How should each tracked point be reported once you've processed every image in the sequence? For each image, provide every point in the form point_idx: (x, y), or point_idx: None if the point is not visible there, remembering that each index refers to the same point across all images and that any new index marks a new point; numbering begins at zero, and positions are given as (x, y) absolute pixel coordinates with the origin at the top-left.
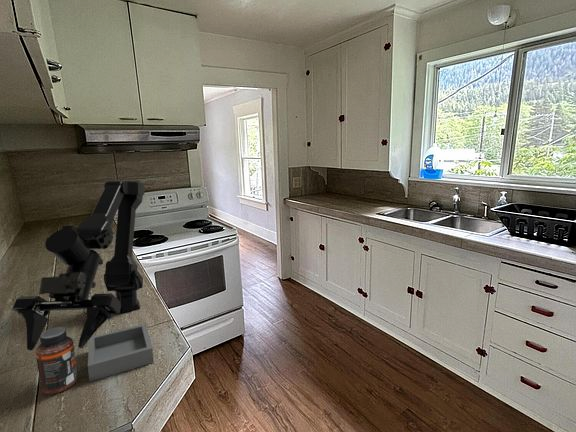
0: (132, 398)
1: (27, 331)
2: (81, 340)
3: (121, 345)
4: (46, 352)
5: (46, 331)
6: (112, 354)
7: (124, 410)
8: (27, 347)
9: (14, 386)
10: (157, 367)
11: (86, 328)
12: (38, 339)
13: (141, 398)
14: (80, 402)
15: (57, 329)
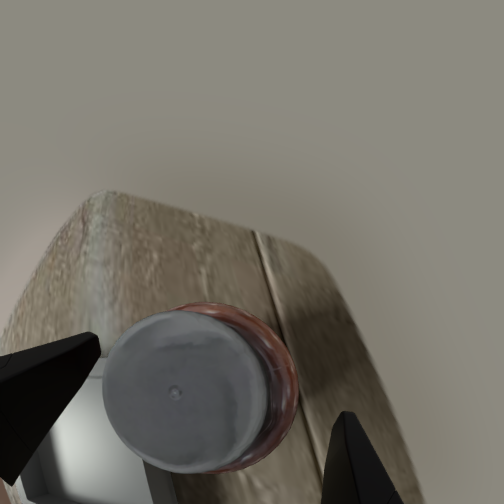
0: (72, 251)
1: (391, 488)
2: (70, 341)
3: (89, 488)
4: (219, 305)
5: (234, 436)
6: (103, 456)
7: (89, 223)
8: (355, 417)
9: (371, 417)
10: (23, 339)
11: (18, 357)
12: (322, 489)
13: (61, 246)
14: (164, 279)
15: (154, 432)
